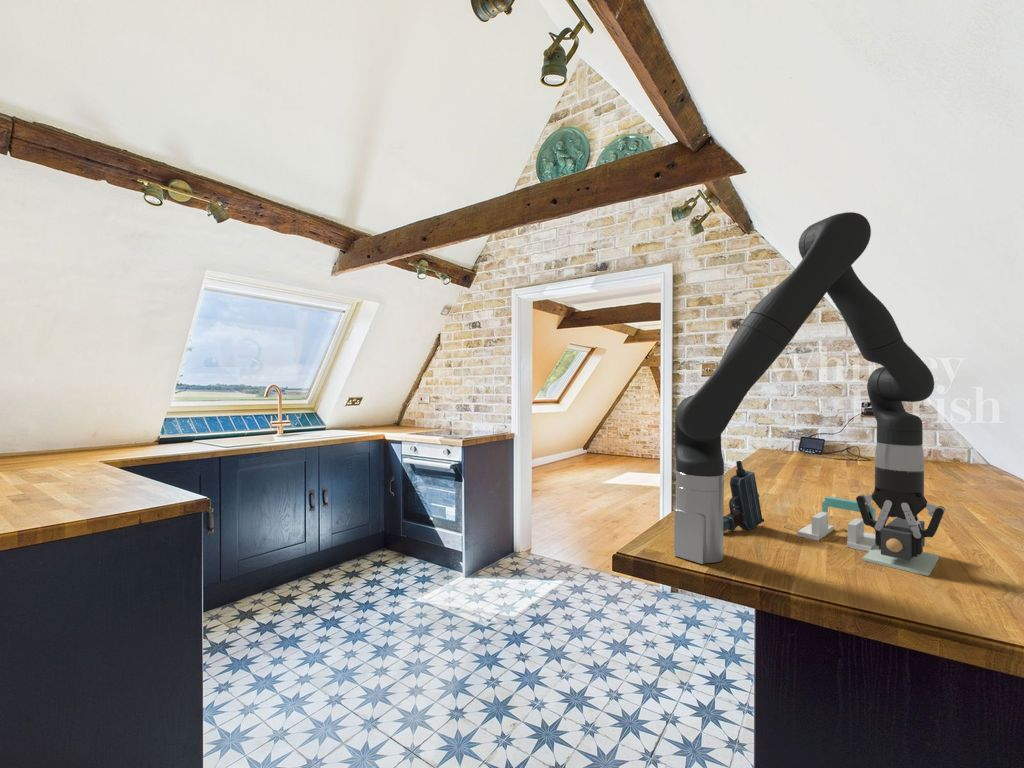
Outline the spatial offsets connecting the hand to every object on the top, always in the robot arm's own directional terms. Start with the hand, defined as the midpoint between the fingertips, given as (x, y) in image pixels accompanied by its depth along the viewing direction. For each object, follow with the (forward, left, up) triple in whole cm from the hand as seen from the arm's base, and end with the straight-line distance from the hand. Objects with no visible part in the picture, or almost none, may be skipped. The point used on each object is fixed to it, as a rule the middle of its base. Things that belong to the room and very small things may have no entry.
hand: (898, 551), depth 92 cm
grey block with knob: (+4, 0, -1) cm, 4 cm away
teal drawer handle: (+17, +12, +1) cm, 21 cm away
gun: (-2, +30, -3) cm, 30 cm away
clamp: (+10, +12, -3) cm, 16 cm away
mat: (+4, 0, -3) cm, 5 cm away
